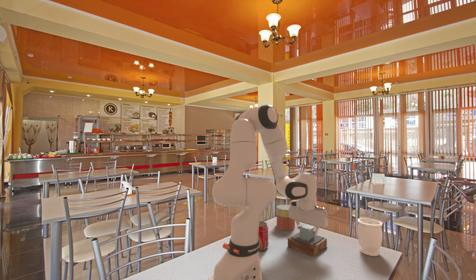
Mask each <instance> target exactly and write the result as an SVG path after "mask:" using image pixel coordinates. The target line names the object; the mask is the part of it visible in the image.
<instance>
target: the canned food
mask: <svg viewBox="0 0 476 280" xmlns="http://www.w3.org/2000/svg"><path fill="white" fill-rule="evenodd" d="M290 206H291V205H290V204H278V205H277V206H276V228H278V229H280V230H283V231H292V230H295V228H296V222H295V220H294V219H291V218H290V217H289V207H290Z"/></svg>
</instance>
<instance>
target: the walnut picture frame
mask: <svg viewBox="0 0 476 280" xmlns="http://www.w3.org/2000/svg"><path fill="white" fill-rule="evenodd" d="M327 243H328V240H327V238H326V237H324V236H321V235H318V234H317V235H316V234H315V237H313V238H312V239H310V240H309V241H306V240H303V239H301V238H300V231H298V232H296V233H294V234H293V235H291V236H290V237H288V238H287V247H289V248H292V249H294V250H296V251H299V252H301V253H304V254H306V255H308V256H309V255H310V256H312V257H315V256H317V254H319V253H320V252H321V251H323V250H324V249H325V248H326V247H327V246H328V245H327Z"/></svg>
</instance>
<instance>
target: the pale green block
mask: <svg viewBox="0 0 476 280" xmlns="http://www.w3.org/2000/svg"><path fill="white" fill-rule="evenodd" d="M313 230H316V228H315V226H314V225H311V224H305V225H303V226H302V227H301V228H300V229H299V232H300V238H301V239H303V240H306V241H309V240H310V239H312V238H313V237H315V235H316V234H313Z"/></svg>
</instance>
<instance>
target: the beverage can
mask: <svg viewBox="0 0 476 280" xmlns="http://www.w3.org/2000/svg"><path fill="white" fill-rule="evenodd" d="M258 239H259V244H260V249H259V251H265V250H267V249H268V248H269V227H268V223H267V222H265V221H261V220H260V222H259V232H258Z"/></svg>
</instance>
